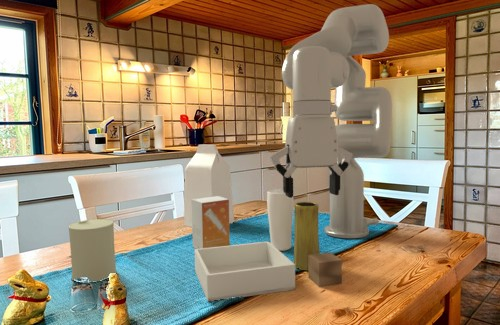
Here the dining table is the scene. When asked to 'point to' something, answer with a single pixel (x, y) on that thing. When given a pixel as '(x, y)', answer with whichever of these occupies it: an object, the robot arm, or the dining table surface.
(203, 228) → the small box
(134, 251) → the dining table surface
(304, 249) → the vase
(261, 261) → the box
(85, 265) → the can
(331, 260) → the walnut cube
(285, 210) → the drinking glass
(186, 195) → the milk
